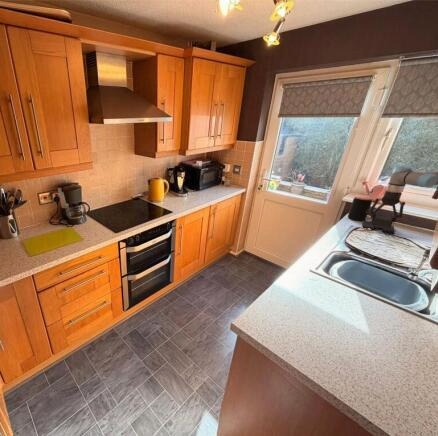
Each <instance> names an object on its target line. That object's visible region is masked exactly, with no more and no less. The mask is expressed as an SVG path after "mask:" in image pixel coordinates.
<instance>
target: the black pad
mask: <svg viewBox="0 0 438 436" xmlns="http://www.w3.org/2000/svg"><path fill="white" fill-rule="evenodd" d="M391 222H392V217H389V216H385V215H379V214H376V216H375V218H374V221H373V223H372V225H375V226H380V227H385V228H389V227H390V225H391Z"/></svg>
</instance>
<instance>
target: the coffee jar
mask: <svg viewBox="0 0 438 436" xmlns="http://www.w3.org/2000/svg"><path fill="white" fill-rule="evenodd" d="M373 200H374V197H372V196H368V195H360V194H355V195H354V196H353V198H352V202H351V205H350V209H349V211H348V215H347V218H348V219H349V220H351V221H354V222H363V220H365V221H367V217H368V214H369V213H370V212H369V210H370V209H371V207H372V203H373Z"/></svg>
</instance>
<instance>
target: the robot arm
mask: <svg viewBox="0 0 438 436" xmlns="http://www.w3.org/2000/svg"><path fill="white" fill-rule="evenodd" d="M407 185H411V186H414V187H415V186H416V187H420V188H425V189H426V188H428V189H429V188H432V187H435V186H438V171H433V172H432V171H431V172H419V171H413V167H410V166H401V165H398V166H395V167H394V168H393V170H392V172H391V175H390V178H389V181H388V183H387V186H386V188H385V191H384V193H383V196H382V197H379V198H378V197H376V198H375V200H374V202H373V204H371V206H370V209H369V212H368V213H370V214H371V215H370V219H371V221H370V222H371V223H373V221H374V218H375V216H376V215H377V212H379V211H380V210H381V209H382V208H383V207H385V206H388V207H392V211H393V216H391V218H392V222H391V225H392V226H393V223H396V221H397V219H398V218H403V213H404V206H405V205H406V202H405V201H401V200H400V199H401V197H402V195H403V192H404V190H405V187H406V186H407ZM380 201H381V202H382V203H380V204H379V205H378V203H379V202H380ZM397 204H399V211H398V213H397V207H396V205H397ZM377 205H378V206H377ZM375 207H376V208H375ZM391 225H390V227H391Z"/></svg>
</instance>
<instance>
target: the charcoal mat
mask: <svg viewBox="0 0 438 436" xmlns="http://www.w3.org/2000/svg"><path fill="white" fill-rule="evenodd" d="M362 227H363V228H370V229H373V230H376V231H380V232H381V233H383V232H384V234H388V235H392V236H393V235H395V233H396V229H395V226H394V225H393V224H392V225H391V227H389V228H385V227H380V226H375V225H372V223H371V221H370V220H363V221H362V226H361V228H362ZM363 228H362V229H363Z"/></svg>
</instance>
